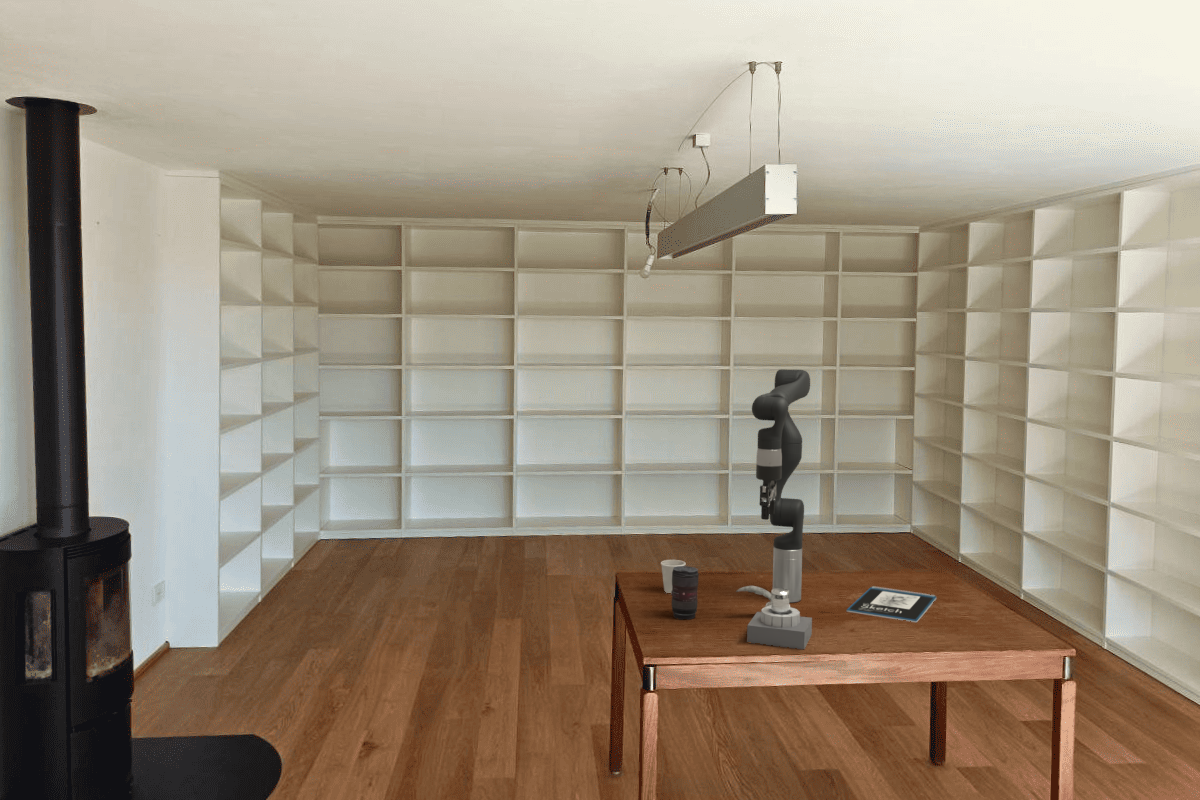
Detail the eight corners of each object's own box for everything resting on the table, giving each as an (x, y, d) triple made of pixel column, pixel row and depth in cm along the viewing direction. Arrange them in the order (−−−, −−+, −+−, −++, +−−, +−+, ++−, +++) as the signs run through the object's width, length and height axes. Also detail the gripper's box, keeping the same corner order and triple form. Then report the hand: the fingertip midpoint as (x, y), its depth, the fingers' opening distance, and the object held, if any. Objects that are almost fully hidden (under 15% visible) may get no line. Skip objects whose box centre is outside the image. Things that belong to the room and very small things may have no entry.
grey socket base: (756, 628, 288) (757, 601, 288) (811, 634, 283) (812, 607, 282) (747, 642, 275) (747, 614, 274) (804, 649, 270) (804, 621, 269)
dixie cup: (662, 587, 331) (662, 559, 330) (686, 589, 329) (687, 560, 329) (658, 594, 323) (659, 564, 322) (683, 596, 321) (684, 566, 320)
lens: (772, 618, 281) (772, 587, 281) (789, 619, 280) (790, 589, 279) (769, 623, 277) (770, 592, 276) (787, 625, 275) (788, 593, 274)
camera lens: (696, 621, 294) (697, 572, 293) (669, 619, 296) (670, 571, 295) (699, 613, 302) (699, 566, 301) (673, 611, 304) (673, 564, 302)
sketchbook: (846, 613, 306) (846, 607, 306) (871, 591, 332) (871, 585, 331) (916, 624, 295) (916, 617, 295) (936, 600, 321) (937, 593, 321)
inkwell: (797, 621, 295) (798, 588, 295) (740, 623, 293) (740, 590, 292) (786, 612, 304) (787, 580, 304) (731, 614, 302) (731, 582, 301)
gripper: (777, 467, 283) (776, 522, 285) (785, 460, 297) (784, 513, 298) (751, 465, 286) (750, 520, 287) (761, 459, 299) (760, 511, 301)
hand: (767, 516), depth 293 cm, fingers open, 8 cm apart
